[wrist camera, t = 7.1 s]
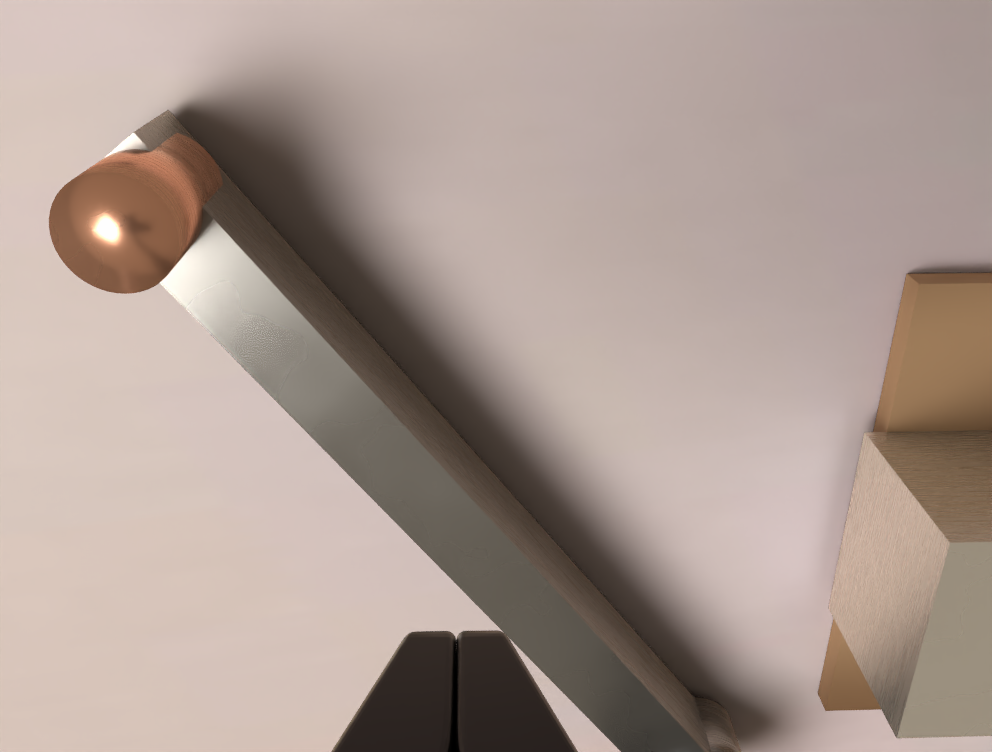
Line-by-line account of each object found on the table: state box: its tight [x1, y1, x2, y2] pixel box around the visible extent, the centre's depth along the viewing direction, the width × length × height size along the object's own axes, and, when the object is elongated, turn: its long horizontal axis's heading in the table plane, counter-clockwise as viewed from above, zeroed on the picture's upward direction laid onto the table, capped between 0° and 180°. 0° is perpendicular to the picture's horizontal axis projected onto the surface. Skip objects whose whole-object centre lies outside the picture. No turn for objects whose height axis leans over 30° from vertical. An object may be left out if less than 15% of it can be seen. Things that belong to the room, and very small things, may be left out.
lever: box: [49, 110, 741, 752], centre depth 20 cm, size 21×2×4 cm, turn 37°
